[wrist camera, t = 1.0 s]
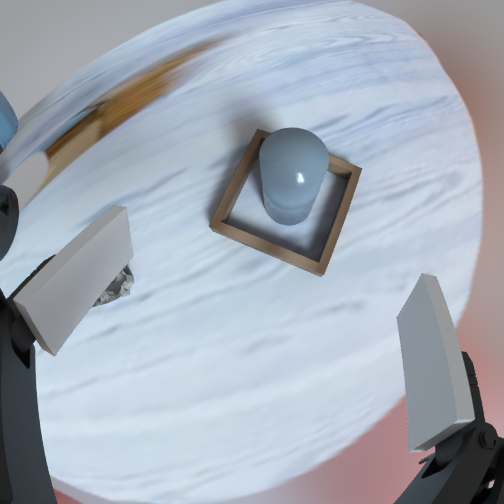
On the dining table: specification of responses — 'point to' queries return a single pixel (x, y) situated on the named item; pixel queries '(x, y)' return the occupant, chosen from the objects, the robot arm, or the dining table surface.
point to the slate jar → (292, 173)
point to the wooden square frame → (267, 247)
